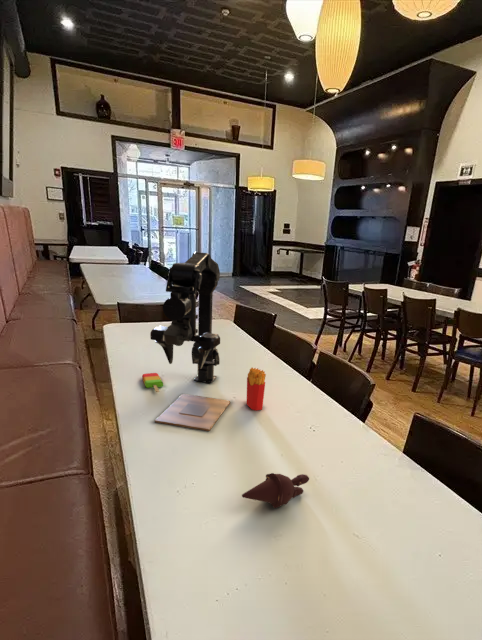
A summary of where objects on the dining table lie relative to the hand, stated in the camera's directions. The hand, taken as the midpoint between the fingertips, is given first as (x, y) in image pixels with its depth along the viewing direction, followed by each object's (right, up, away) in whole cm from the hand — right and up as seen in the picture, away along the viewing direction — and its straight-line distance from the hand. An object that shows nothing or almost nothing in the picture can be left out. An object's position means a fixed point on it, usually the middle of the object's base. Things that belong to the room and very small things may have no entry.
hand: (185, 366), depth 118 cm
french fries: (+19, -12, +12) cm, 26 cm away
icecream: (+25, -30, -32) cm, 50 cm away
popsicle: (-15, -6, +21) cm, 27 cm away
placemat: (+2, -13, +5) cm, 14 cm away
